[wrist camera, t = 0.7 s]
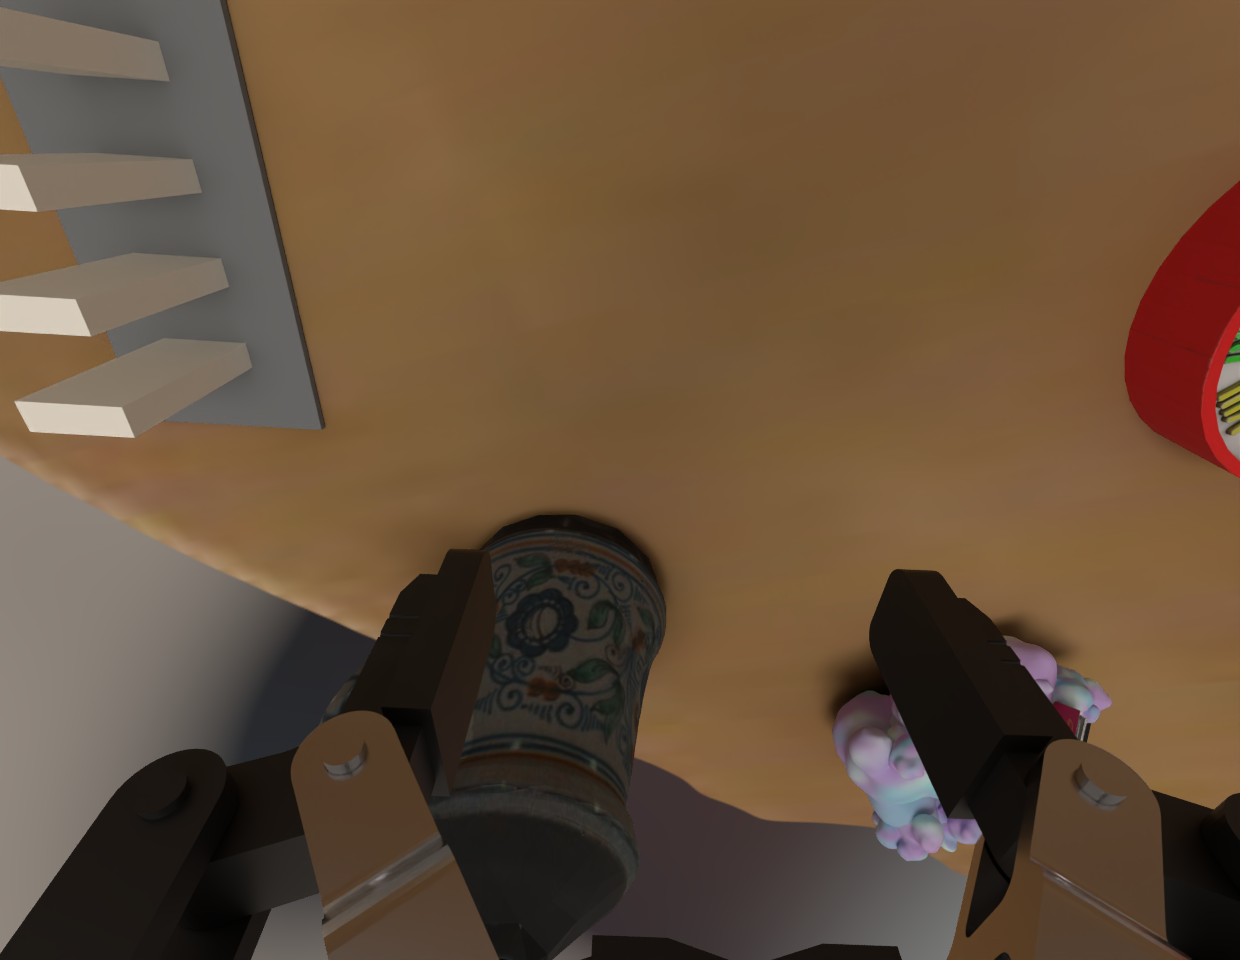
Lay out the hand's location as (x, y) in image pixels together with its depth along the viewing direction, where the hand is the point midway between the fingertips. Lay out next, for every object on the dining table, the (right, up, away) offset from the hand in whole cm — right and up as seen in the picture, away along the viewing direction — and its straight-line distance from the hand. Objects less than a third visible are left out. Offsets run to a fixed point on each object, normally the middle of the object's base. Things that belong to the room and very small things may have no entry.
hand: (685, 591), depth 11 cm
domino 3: (-27, +15, +22) cm, 37 cm away
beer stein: (-7, -7, +35) cm, 36 cm away
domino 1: (-26, +23, +16) cm, 39 cm away
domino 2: (-27, +19, +19) cm, 38 cm away
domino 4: (-27, +10, +24) cm, 38 cm away
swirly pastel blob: (+28, -17, +40) cm, 52 cm away
